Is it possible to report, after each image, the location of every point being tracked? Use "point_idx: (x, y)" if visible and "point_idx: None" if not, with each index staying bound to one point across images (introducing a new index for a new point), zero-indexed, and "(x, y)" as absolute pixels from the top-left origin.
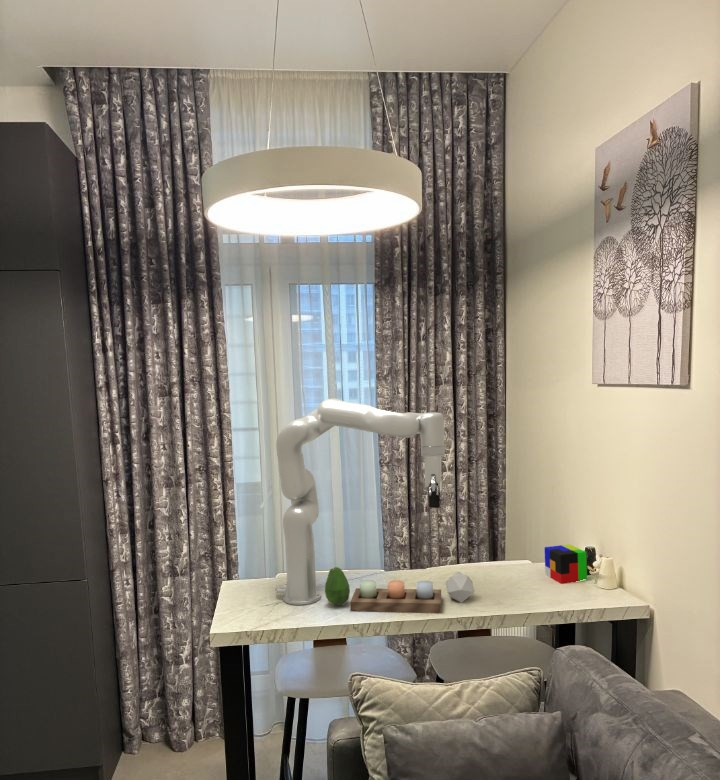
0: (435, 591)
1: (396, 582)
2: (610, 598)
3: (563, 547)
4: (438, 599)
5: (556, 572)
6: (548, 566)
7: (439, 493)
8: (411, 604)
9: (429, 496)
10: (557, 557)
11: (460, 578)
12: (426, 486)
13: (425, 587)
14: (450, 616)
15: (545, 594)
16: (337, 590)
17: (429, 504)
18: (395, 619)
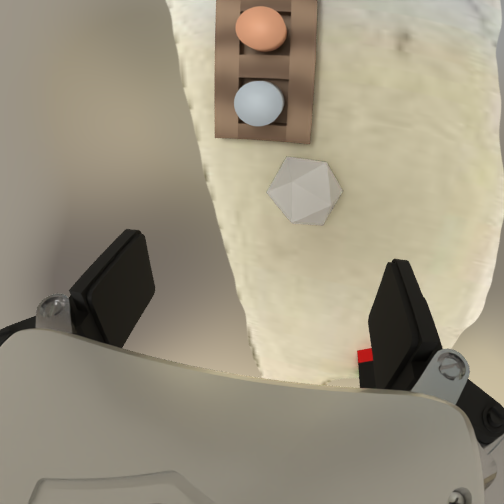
0: (295, 128)
1: (264, 27)
2: (290, 378)
3: None
4: (239, 133)
5: (371, 360)
6: None
7: (378, 368)
8: (215, 71)
9: (77, 286)
10: (369, 382)
11: (287, 202)
12: (13, 340)
13: (234, 106)
14: (206, 152)
15: (316, 324)
16: None
17: (116, 241)
18: (184, 43)
